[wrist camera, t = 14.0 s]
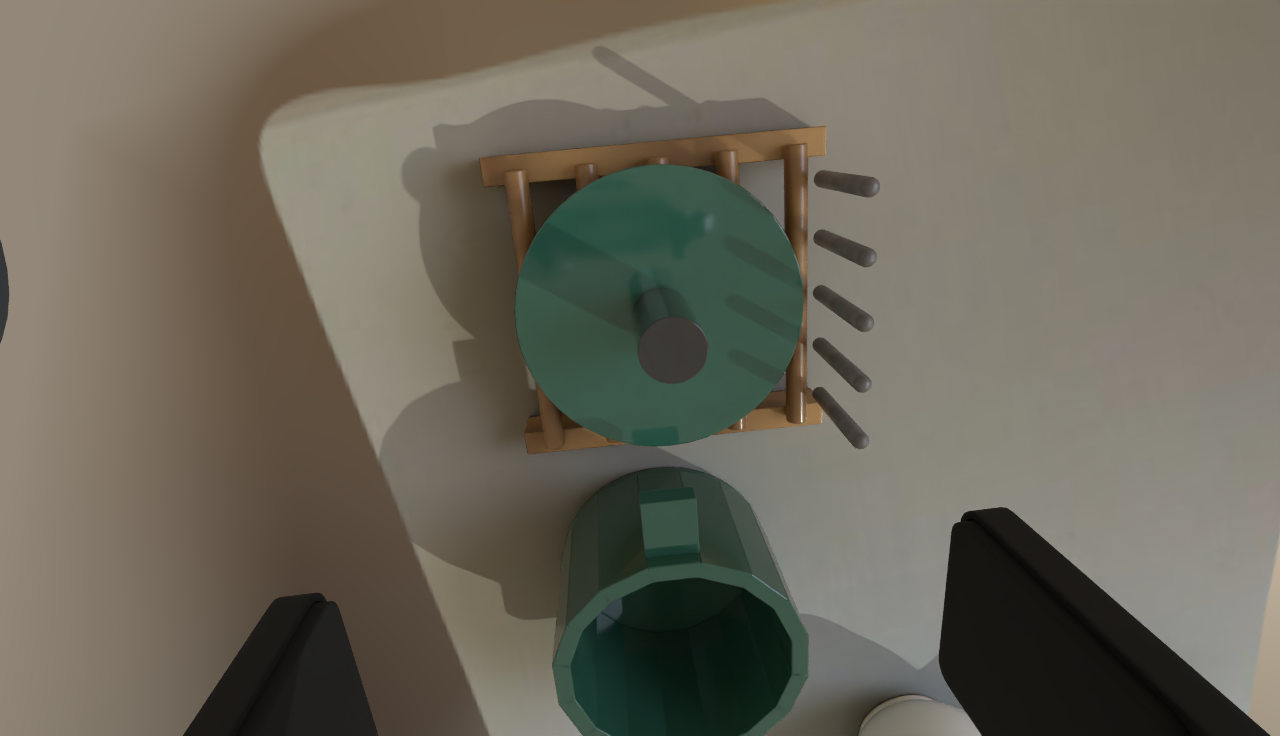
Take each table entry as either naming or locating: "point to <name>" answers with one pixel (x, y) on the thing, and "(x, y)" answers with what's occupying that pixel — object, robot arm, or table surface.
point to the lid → (659, 304)
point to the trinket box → (917, 719)
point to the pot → (674, 613)
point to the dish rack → (726, 155)
